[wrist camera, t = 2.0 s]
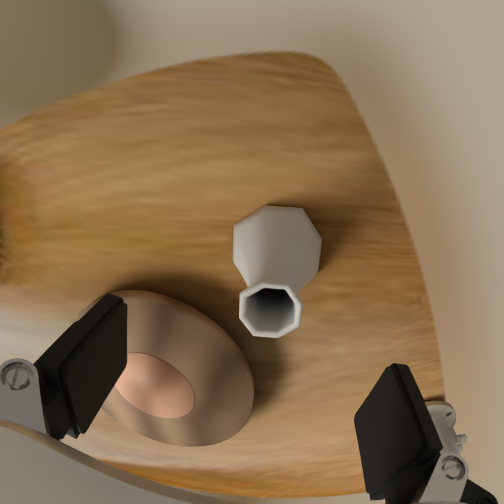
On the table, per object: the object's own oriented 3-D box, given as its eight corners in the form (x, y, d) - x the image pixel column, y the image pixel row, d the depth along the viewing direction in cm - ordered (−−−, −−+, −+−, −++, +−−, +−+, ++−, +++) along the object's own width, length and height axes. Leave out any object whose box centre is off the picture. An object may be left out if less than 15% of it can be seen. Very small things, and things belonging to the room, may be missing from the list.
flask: (310, 193, 22) (330, 221, 13) (330, 279, 24) (353, 353, 15) (219, 216, 23) (176, 259, 14) (245, 298, 25) (224, 376, 16)
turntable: (280, 327, 24) (279, 340, 22) (232, 451, 31) (230, 462, 29) (72, 263, 25) (60, 270, 23) (86, 399, 31) (80, 408, 30)
